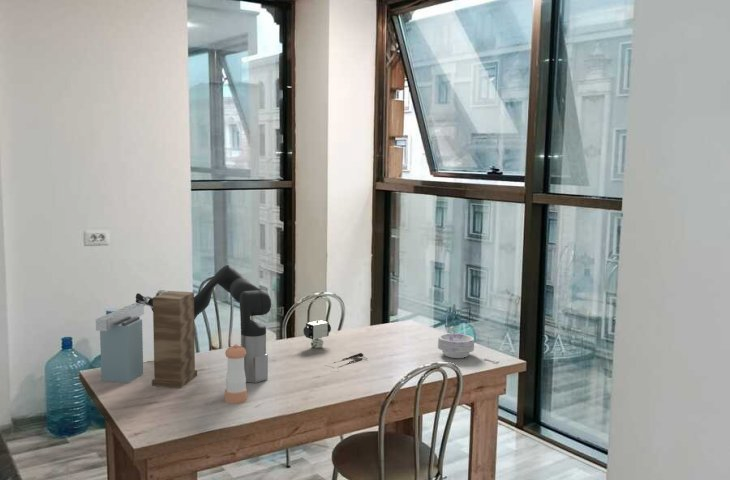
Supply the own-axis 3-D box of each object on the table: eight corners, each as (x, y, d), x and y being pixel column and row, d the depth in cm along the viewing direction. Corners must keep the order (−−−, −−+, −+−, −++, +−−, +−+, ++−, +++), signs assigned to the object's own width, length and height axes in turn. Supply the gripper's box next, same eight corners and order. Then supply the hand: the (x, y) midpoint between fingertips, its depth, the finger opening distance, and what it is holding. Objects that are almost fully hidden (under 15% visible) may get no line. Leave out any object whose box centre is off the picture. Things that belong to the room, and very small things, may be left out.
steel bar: (106, 331, 230) (106, 319, 229) (96, 330, 230) (95, 319, 230) (144, 314, 255) (143, 303, 255) (134, 313, 256) (134, 303, 255)
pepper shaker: (250, 397, 228) (250, 342, 226) (241, 404, 221) (241, 348, 219) (230, 394, 230) (230, 341, 227) (221, 402, 223) (221, 346, 220)
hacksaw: (360, 355, 280) (361, 351, 280) (378, 361, 273) (378, 357, 272) (316, 367, 263) (316, 363, 263) (334, 373, 256) (334, 369, 256)
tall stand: (180, 388, 235) (179, 299, 231) (151, 385, 237) (150, 298, 233) (197, 375, 249) (196, 291, 245) (169, 373, 251) (168, 290, 247)
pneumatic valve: (331, 346, 291) (331, 319, 290) (309, 350, 284) (309, 323, 282) (323, 343, 295) (323, 316, 294) (301, 347, 288) (302, 320, 286)
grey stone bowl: (462, 348, 291) (463, 331, 290) (480, 359, 277) (481, 340, 276) (431, 351, 286) (432, 333, 285) (447, 362, 272) (448, 343, 271)
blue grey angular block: (129, 382, 240) (128, 323, 237) (101, 380, 241) (99, 321, 239) (143, 374, 249) (142, 316, 247) (116, 371, 251) (114, 315, 248)
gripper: (150, 298, 279) (132, 286, 264) (182, 300, 276) (166, 288, 261) (146, 316, 276) (128, 304, 261) (178, 318, 273) (162, 306, 259)
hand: (147, 296), depth 261 cm, fingers open, 8 cm apart
